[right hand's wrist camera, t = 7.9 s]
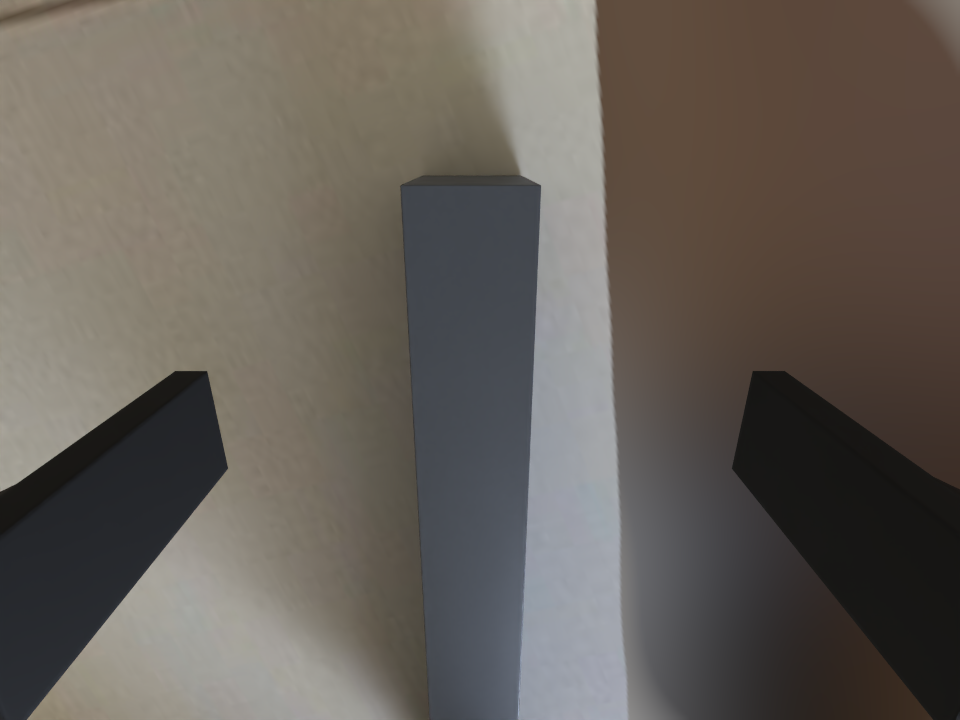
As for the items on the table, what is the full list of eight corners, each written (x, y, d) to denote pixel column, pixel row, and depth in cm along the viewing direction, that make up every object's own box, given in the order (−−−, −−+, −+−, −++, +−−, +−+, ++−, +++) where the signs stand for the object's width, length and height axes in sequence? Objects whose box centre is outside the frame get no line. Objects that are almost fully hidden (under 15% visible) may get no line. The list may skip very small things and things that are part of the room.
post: (421, 175, 27) (400, 185, 20) (522, 175, 27) (541, 184, 20) (445, 770, 46) (439, 896, 38) (504, 769, 46) (511, 895, 39)
